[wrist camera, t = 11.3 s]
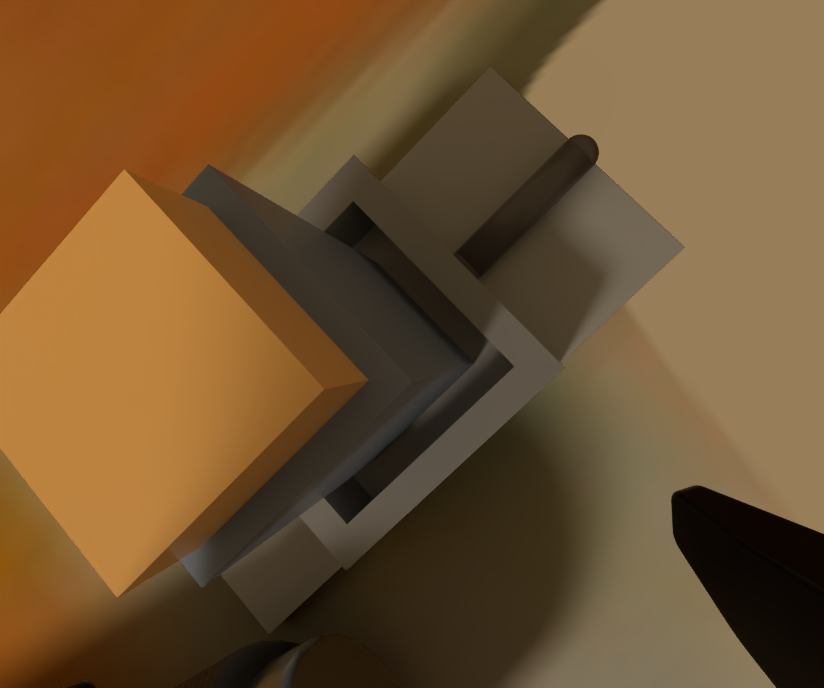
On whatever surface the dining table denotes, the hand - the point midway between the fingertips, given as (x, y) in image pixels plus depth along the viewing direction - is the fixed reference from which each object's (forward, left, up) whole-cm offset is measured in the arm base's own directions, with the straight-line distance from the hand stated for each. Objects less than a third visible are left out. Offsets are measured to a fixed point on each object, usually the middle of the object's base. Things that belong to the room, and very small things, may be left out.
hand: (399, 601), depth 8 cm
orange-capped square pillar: (+4, -3, -11) cm, 12 cm away
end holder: (+4, -3, -12) cm, 13 cm away
